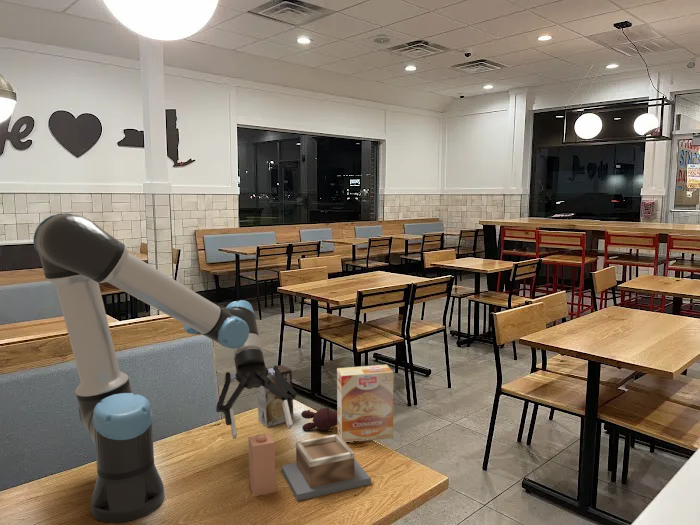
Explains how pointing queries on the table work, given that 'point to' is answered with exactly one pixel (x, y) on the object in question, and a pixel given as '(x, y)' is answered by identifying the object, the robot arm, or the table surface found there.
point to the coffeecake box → (365, 403)
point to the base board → (305, 492)
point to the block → (262, 464)
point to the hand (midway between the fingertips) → (263, 431)
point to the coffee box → (273, 401)
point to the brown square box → (325, 460)
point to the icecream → (320, 419)
